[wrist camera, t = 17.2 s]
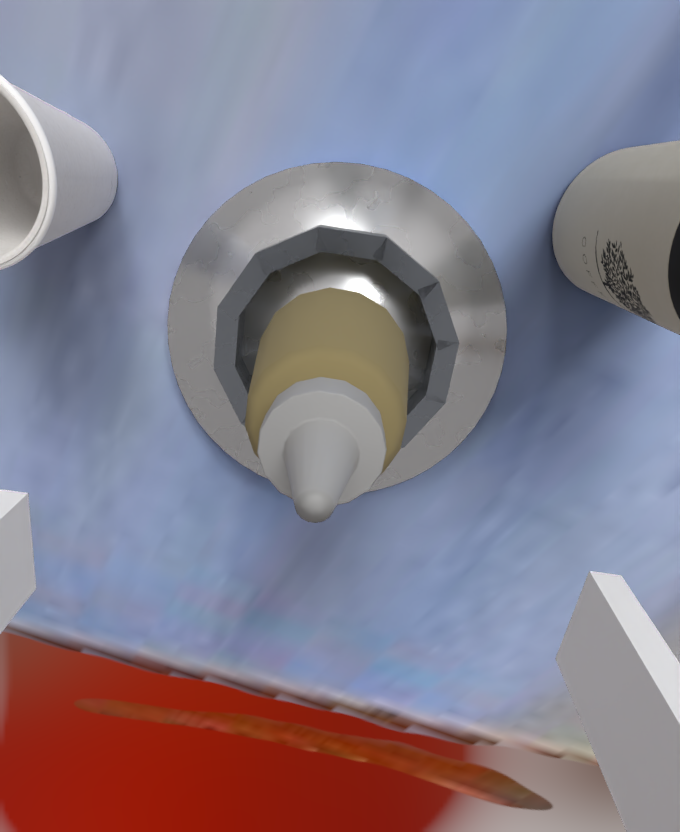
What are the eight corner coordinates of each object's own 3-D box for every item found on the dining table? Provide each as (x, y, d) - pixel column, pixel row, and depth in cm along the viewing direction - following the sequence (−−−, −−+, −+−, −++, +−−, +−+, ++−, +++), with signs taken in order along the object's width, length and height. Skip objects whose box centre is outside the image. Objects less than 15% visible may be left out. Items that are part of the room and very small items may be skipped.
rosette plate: (180, 136, 31) (160, 131, 28) (540, 192, 31) (561, 193, 28) (170, 461, 38) (153, 486, 35) (460, 501, 39) (469, 530, 36)
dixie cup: (-19, 79, 30) (-187, 32, 21) (137, 94, 30) (40, 53, 21) (3, 242, 33) (-134, 264, 24) (145, 255, 33) (62, 282, 24)
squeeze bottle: (273, 411, 35) (197, 615, 18) (261, 279, 32) (158, 380, 15) (403, 408, 35) (446, 612, 18) (404, 274, 32) (457, 372, 15)
